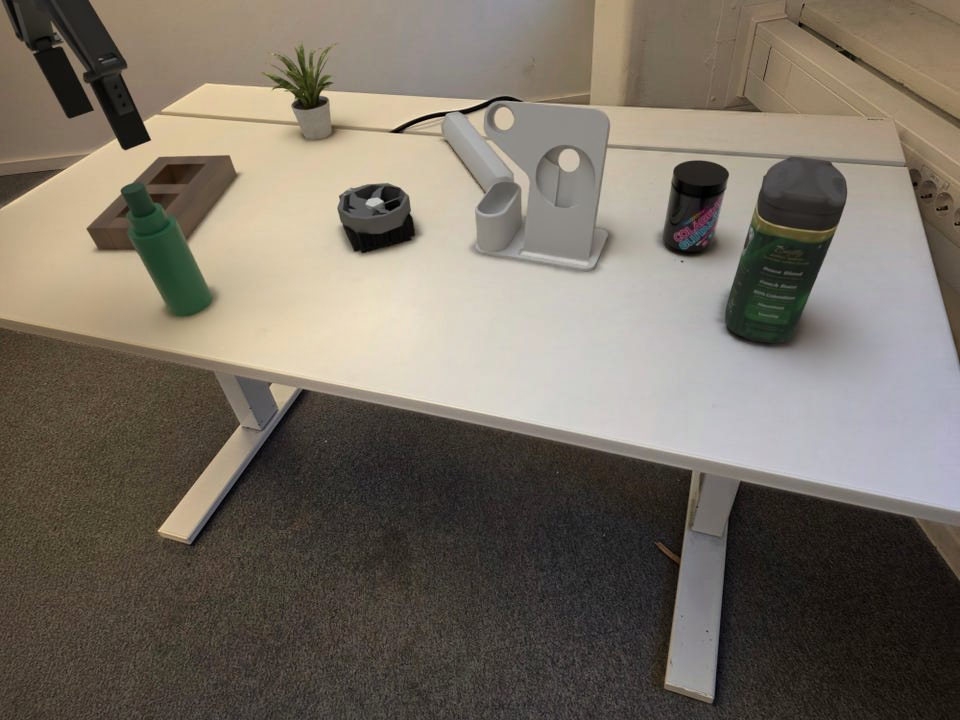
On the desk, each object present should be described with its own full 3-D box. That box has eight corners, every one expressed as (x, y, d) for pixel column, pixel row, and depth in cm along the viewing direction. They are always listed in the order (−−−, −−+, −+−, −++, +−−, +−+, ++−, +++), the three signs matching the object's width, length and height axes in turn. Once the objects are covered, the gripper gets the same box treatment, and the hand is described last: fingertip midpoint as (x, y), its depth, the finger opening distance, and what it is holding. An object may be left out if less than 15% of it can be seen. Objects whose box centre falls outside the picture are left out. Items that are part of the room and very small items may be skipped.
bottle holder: (99, 251, 92) (85, 228, 89) (168, 177, 108) (158, 156, 105) (180, 251, 90) (168, 227, 87) (237, 176, 106) (229, 155, 104)
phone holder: (470, 253, 85) (459, 127, 72) (495, 216, 91) (489, 95, 79) (592, 274, 79) (602, 142, 67) (609, 233, 86) (622, 106, 74)
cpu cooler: (416, 206, 84) (345, 224, 82) (422, 241, 88) (354, 260, 85) (395, 175, 91) (329, 191, 89) (401, 208, 95) (338, 225, 93)
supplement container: (658, 253, 82) (670, 182, 75) (663, 227, 86) (675, 158, 79) (710, 260, 80) (728, 188, 73) (713, 232, 85) (730, 162, 77)
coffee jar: (793, 353, 67) (855, 202, 54) (719, 337, 69) (761, 190, 57) (798, 301, 73) (854, 154, 60) (729, 288, 76) (769, 145, 63)
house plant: (334, 111, 125) (313, 24, 114) (372, 129, 117) (355, 38, 106) (272, 135, 118) (244, 45, 107) (309, 155, 111) (283, 61, 99)
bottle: (162, 317, 79) (96, 200, 67) (181, 291, 83) (121, 176, 71) (202, 318, 78) (143, 200, 66) (219, 291, 82) (166, 175, 70)
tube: (524, 173, 92) (471, 113, 109) (493, 170, 90) (443, 109, 107) (514, 205, 95) (464, 142, 113) (484, 203, 93) (437, 138, 110)
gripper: (86, -138, 44) (200, 144, 59) (-23, -141, 57) (93, 92, 71) (-26, -123, 40) (125, 175, 55) (-116, -129, 53) (26, 114, 68)
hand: (107, 128), depth 63 cm, fingers open, 13 cm apart
